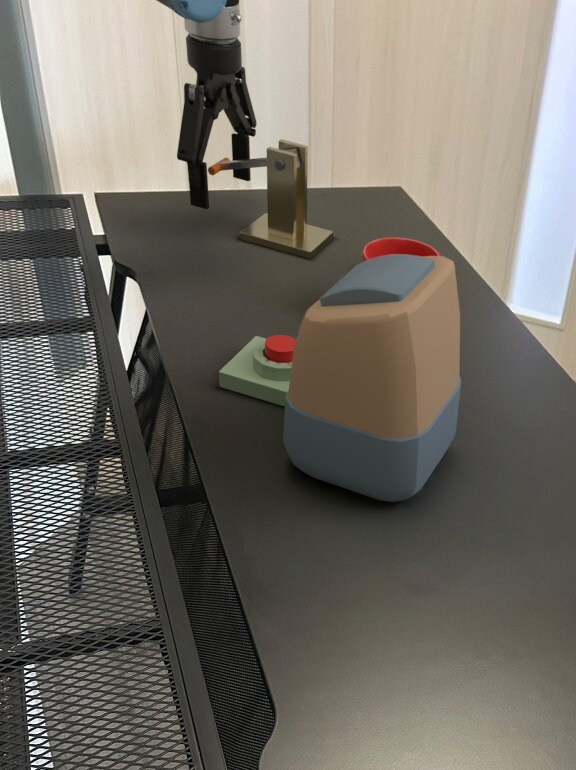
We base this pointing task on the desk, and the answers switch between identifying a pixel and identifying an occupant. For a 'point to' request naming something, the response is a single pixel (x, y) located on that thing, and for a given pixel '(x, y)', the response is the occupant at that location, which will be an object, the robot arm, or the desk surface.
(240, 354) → the button box
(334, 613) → the desk surface
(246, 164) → the switch lever
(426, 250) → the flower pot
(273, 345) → the button
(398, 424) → the lidded trash bin
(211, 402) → the desk surface
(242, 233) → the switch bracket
